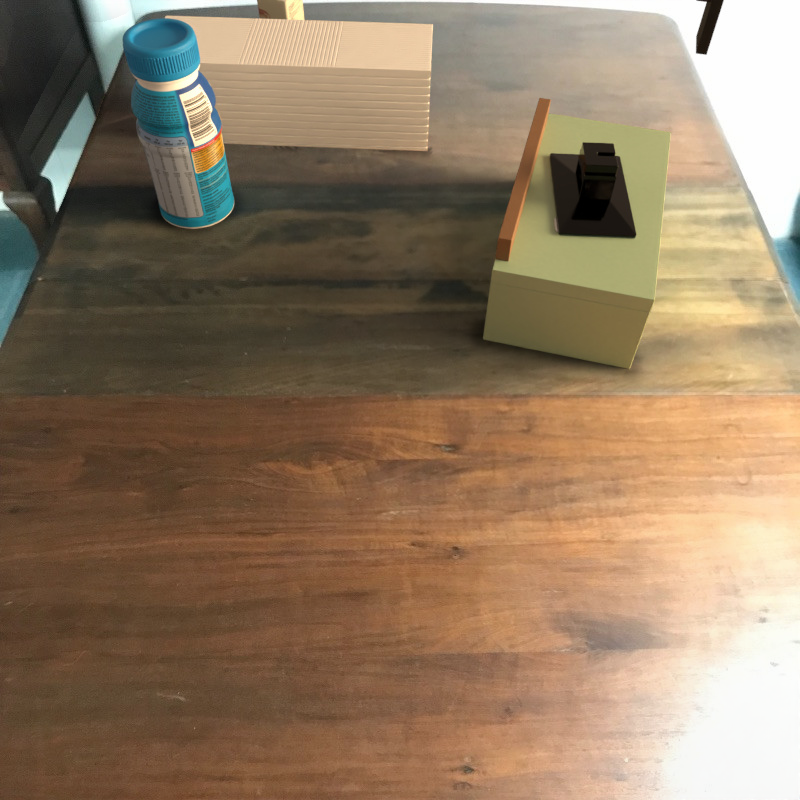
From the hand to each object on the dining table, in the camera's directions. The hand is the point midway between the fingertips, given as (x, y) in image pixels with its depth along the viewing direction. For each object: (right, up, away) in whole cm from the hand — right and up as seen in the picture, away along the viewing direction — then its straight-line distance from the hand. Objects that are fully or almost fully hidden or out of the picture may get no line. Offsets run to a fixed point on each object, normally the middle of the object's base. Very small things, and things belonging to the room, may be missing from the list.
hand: (796, 58), depth 58 cm
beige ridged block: (-41, +9, +42) cm, 60 cm away
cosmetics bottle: (-44, +21, +51) cm, 71 cm away
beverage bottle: (-51, -4, +31) cm, 60 cm away
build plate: (-11, -5, +18) cm, 22 cm away
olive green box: (-11, -11, +26) cm, 30 cm away
